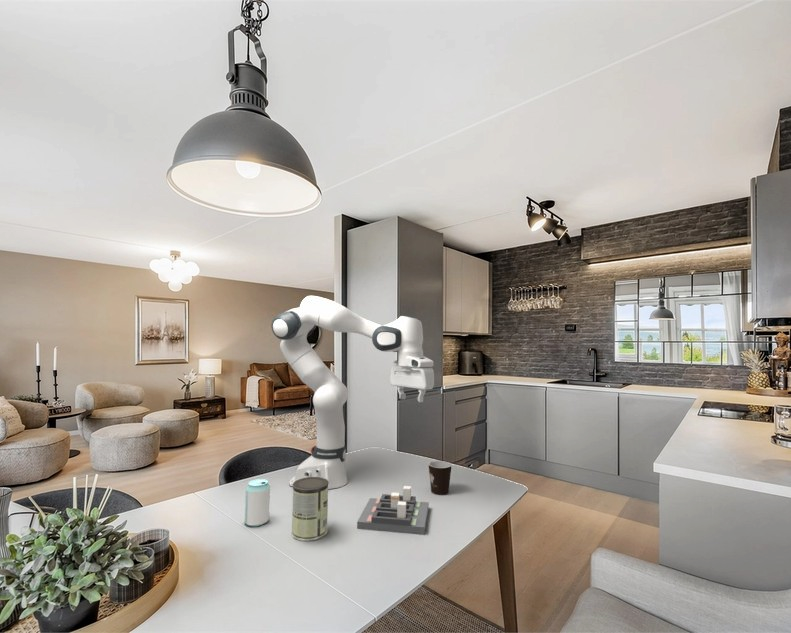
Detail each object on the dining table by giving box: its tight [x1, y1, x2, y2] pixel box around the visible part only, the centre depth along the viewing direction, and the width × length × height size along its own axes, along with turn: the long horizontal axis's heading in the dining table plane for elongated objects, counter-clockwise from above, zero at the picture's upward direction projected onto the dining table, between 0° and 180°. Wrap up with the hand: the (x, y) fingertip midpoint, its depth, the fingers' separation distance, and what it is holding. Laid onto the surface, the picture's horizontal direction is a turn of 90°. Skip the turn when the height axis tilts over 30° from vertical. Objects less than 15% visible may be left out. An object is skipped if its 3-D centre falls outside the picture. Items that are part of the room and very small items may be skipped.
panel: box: [356, 493, 429, 535], centre depth 123 cm, size 20×18×4 cm
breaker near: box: [397, 501, 406, 519], centre depth 117 cm, size 2×2×5 cm
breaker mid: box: [390, 492, 400, 508], centre depth 123 cm, size 2×2×5 cm
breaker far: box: [402, 485, 412, 501], centre depth 129 cm, size 2×2×5 cm
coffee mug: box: [428, 460, 452, 496], centre depth 147 cm, size 12×9×10 cm
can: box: [244, 478, 271, 527], centre depth 119 cm, size 7×7×12 cm
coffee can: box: [291, 477, 329, 542], centre depth 114 cm, size 10×10×14 cm
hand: (411, 400), depth 138 cm, fingers open, 8 cm apart
